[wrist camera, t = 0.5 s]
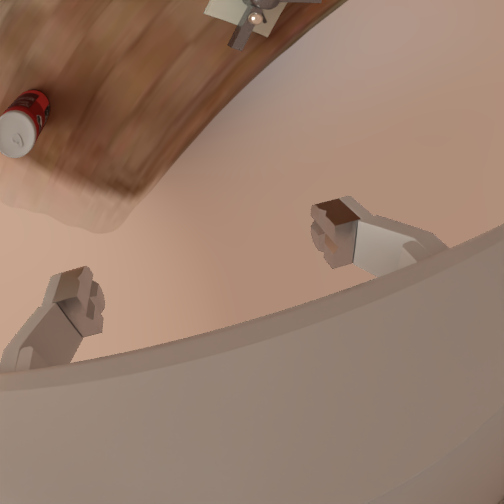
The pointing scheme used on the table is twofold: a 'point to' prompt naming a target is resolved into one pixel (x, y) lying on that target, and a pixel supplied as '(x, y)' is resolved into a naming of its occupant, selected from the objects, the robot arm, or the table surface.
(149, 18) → the table surface
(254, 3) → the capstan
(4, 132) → the canned food
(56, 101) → the table surface
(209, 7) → the stand plate
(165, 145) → the table surface
